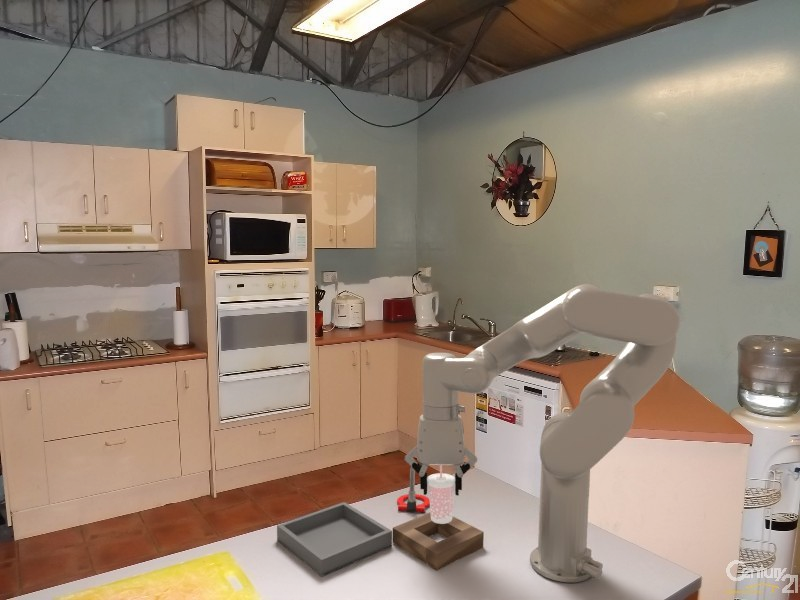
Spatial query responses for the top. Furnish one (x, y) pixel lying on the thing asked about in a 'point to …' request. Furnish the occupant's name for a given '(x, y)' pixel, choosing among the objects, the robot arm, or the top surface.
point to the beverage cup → (441, 496)
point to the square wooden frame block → (444, 552)
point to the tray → (333, 537)
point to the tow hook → (412, 498)
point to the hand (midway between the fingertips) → (441, 491)
